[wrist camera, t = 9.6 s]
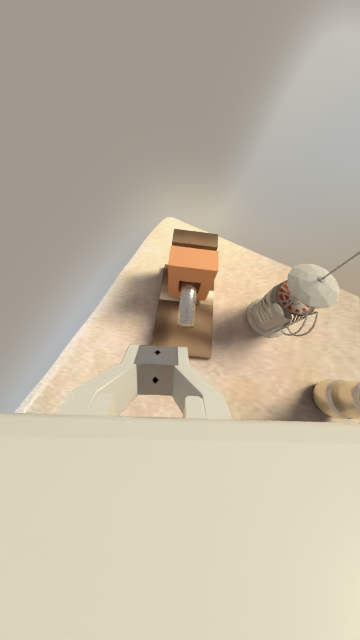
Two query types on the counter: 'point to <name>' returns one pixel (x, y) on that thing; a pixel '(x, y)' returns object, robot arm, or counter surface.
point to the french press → (294, 300)
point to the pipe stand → (168, 306)
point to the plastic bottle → (338, 398)
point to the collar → (191, 270)
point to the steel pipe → (187, 305)
